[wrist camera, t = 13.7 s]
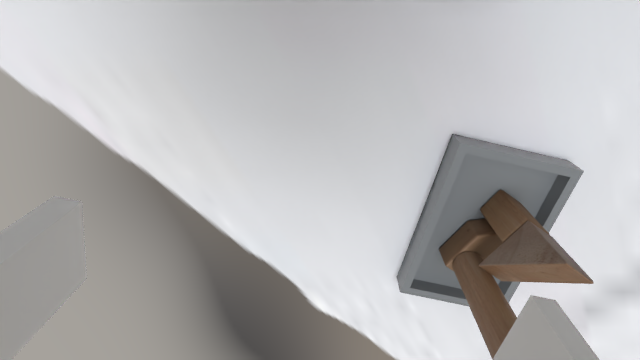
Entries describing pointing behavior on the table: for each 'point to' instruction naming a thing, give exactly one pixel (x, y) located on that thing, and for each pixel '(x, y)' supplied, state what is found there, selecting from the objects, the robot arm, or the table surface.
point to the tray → (479, 207)
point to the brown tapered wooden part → (504, 262)
